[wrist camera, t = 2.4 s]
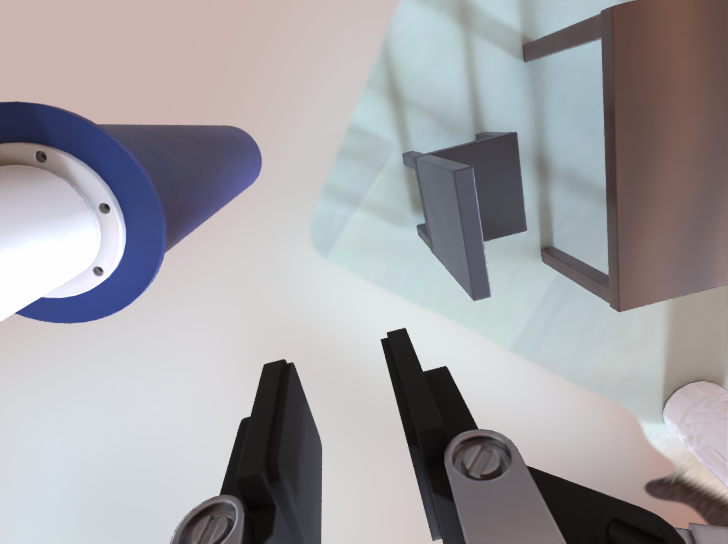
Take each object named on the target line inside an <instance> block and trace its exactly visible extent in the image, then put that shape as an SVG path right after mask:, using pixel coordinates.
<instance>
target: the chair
mask: <svg viewBox="0 0 728 544" xmlns="http://www.w3.org/2000/svg"><path fill="white" fill-rule="evenodd" d="M402 155H403V160H404V164H405V165H406V166H409V167H411V168H413V169H415V171H416V176H417V181H418V186H419V192H420V197H421V202H422V207H423V213H424V218H425V223H424V224H420V225H417V230H418V235H419V236H420V237H421V239H422V240H423V241H424V242H425V243H426V244H427V246H428V247H429V248H430V249H431V251H432V253H433V254H434V255H435V256H436V257H437V258H438V259H439V261H440V262H441V263H442V264H443V265H444V266H445V268H446V269H447V270H448V271H449V272H450V274H451V275H452V276H453V277H454V278H455V279H456V281H457V282H458V283H459V284H460V285H461V286H462V288H463V289H464V290H465V291H466V292H467V293H468V295H469V296H470V297H471V298H472V299H473V301H477V300H481V299H485V298H489V297H491V290H490V283H489V276H488V269H487V262H486V255H485V248H484V242H485V241H489V240H493V239H497V238H501V237H504V236H508V235H512V234H516V233H520V232H524V231H527V226H526V216H525V207H524V197H523V187H522V177H521V168H520V158H519V148H518V138H517V132H508V133H502V132H484V133H480V134H476V141H473V142H469V143H465V144H461V145H458V146H454V147H450V148H446V149H442V150H438V151H434V152H430V153H426V154H422V153H419V152H415V151H410V152H406V153H403V154H402Z"/></svg>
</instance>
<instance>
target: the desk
mask: <svg viewBox="0 0 728 544" xmlns="http://www.w3.org/2000/svg"><path fill="white" fill-rule="evenodd" d="M600 39H601V40H602V72H603V104H604V136H605V169H606V201H607V233H608V265H609V276H608V275H606V274H604V273H603V272H601V271H599V270H597V269H595V268H593V267H591V266H589V265H587V264H585V263H584V262H582V261H580V260H578V259H576V258H574V257H572V256H570V255H568V254H567V253H565V252H563V251H561V250H559V249H557V248H555V247H551V248H547V249H543V250H541V251H542V261H543V262H544V263H545V264H547V265H548V266H550V267H552V268H553V269H555V270H556V271H558V272H560V273H561V274H563V275H565V276H566V277H568V278H569V279H571V280H573V281H574V282H576V283H577V284H579V285H581V286H582V287H584V288H585V289H587V290H589V291H590V292H592V293H593V294H595V295H597V296H598V297H600V298H601V299H603V300H605V301H606V302H608V303H609V304H610V307H612V308H613V309H615V310H616V311H618V312H622V311H626V310H630V309H634V308H638V307H641V306H645V305H649V304H653V303H657V302H661V301H665V300H668V299H672V298H676V297H680V296H684V295H688V294H692V293H695V292H699V291H703V290H707V289H711V288H715V287H719V286H723V285H726V284H728V0H634V1H630V2H627V3H623V4H619V5H615V6H612V7H609V8H607V9H604V10H602V11H601V14H598V15H596V16H593V17H591V18H588V19H586V20H584V21H581V22H579V23H576V24H574V25H571V26H569V27H566V28H564V29H562V30H559V31H557V32H554V33H552V34H549V35H547V36H544V37H542V38H540V39H537V40H535V41H532V42H530V43H527V44H525V45H523V55H524V62H528V61H532V60H536V59H540V58H543V57H546V56H549V55H552V54H556V53H559V52H562V51H565V50H568V49H571V48H575V47H578V46H581V45H584V44H587V43H590V42H594V41H597V40H600Z"/></svg>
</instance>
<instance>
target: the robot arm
mask: <svg viewBox="0 0 728 544" xmlns="http://www.w3.org/2000/svg"><path fill="white" fill-rule="evenodd" d="M45 154H46V157H47V158H46V157H45ZM107 204H108V206H109V207H110V209H108V207H107ZM125 244H126V226H125V221H124V216H123V213H122V210H121V208H120V205H119V203H118V200H117V199H116V197H115V196H114V194H113V192H112V191H111V189H110V187H109V186H108V185H107V184H106V183H105V181H104V180H103V179H102V178H101V177H100V176H99V175H98V174H97V173H96V172H95V171H94V170H93V169H91V168H90V167H89V166H88V165H87V164H85V163H84V162H82V161H81V160H79V159H77V158H76V157H74V156H72V155H71V154H69V153H67V152H64V151H62V150H59V149H57V148H54V147H51V146H47V145H42V144H38V143H23V142H17V143H4V144H0V321H2V320H3V319H5V318H7V317H8V316H10V315H12V314H13V313H15V312H17V311H18V310H20V309H22V308H23V307H25V306H27V305H28V304H30V303H32V302H33V301H35V300H37V299H38V298H40V297H46V298H63V297H69V296H75V295H78V294H81V293H84V292H86V291H89V290H90V289H92V288H94V287H95V286H97V285H99V284H100V283H101V282H103V281H104V280H105V279H106V278H108V277H109V276H110V275H111V274H112V272H113V271H114V270H115V269H116V268H117V266H118V264H119V262H120V260H121V258H122V256H123V253H124V248H125ZM101 268H102V269H103V270H102V269H101ZM387 336H388V338H384V339H381V343H382V347H383V351H384V354H385V358H386V362H387V366H388V370H389V374H390V378H391V381H392V385H393V389H394V393H395V397H396V401H397V405H398V409H399V413H400V416H401V420H402V424H403V428H404V432H405V436H406V440H407V444H408V447H409V451H410V455H411V459H412V463H413V467H414V470H415V474H416V478H417V482H418V486H419V490H420V493H421V497H422V501H423V505H424V509H425V513H426V517H427V521H428V524H429V528H430V532H431V536H432V540H433V541H435V540H439V539H442V540H443V544H728V528H727V527H719V526H712V525H704V524H696V523H689V529H682V528H674V527H673V526H672V525H670V524H669V523H667V522H666V521H665V520H663V519H662V518H661V517H660V516H658V515H656V514H654V513H652V512H650V511H648V510H646V509H643V508H641V507H638V506H636V505H633V504H630V503H628V502H625V501H622V500H619V499H616V498H614V497H611V496H608V495H606V494H603V493H600V492H598V491H595V490H592V489H589V488H587V487H584V486H581V485H578V484H576V483H573V482H570V481H568V480H565V479H562V478H559V477H557V476H554V475H551V474H549V473H546V472H543V471H540V470H537V469H535V468H532V467H529V466H527V465H526V464H525V463H524V461H523V459H522V457H521V455H520V453H519V451H518V449H517V447H516V446H515V445H514V443H513V442H512V441H511V440H510V439H508V438H507V437H506V436H504V435H503V434H500V433H498V432H495V431H492V430H483V429H478V427H477V425H476V423H475V421H474V419H473V417H472V415H471V413H470V411H469V409H468V407H467V405H466V403H465V401H464V399H463V397H462V395H461V393H460V392H459V389H458V388H457V386H456V384H455V382H454V380H453V378H452V376H451V374H450V372H449V370H448V368H447V367H446V366H444V367H440V368H436V369H432V370H428V371H424V372H423V370H422V368H421V365H420V363H419V360H418V358H417V355H416V353H415V350H414V348H413V345H412V343H411V340H410V338H409V335H408V333H407V330H406V328H402V329H399V330H395V331H391V332H387ZM321 496H322V445H321V440H320V436H319V433H318V431H317V428H316V425H315V422H314V419H313V416H312V413H311V411H310V408H309V405H308V402H307V399H306V396H305V393H304V391H303V388H302V385H301V382H300V379H299V376H298V373H297V371H296V368H295V365H294V363H288V364H287V362H286V360H284V359H283V360H279V361H275V362H271V363H267V364H264V367H263V370H262V374H261V378H260V381H259V386H258V390H257V393H256V397H255V401H254V405H253V409H252V413H251V416H250V417H247V418H244V419H242V421H241V423H240V426H239V429H238V432H237V436H236V439H235V443H234V447H233V450H232V453H231V457H230V460H229V464H228V467H227V471H226V474H225V478H224V481H223V485H222V489H221V492H220V495H219V496H215V497H213V498H211V499H208V500H206V501H204V502H202V503H201V504H199V505H198V506H196V507H195V508H194V509H192V510H191V511H190V512H189V513H188V514H187V515H186V516H185V517H184V518H183V520H182V521H181V522H180V524H179V525H178V526H177V528H176V530H175V532H174V534H173V536H172V538H171V542H170V544H321V505H322V504H321V503H322V499H321V498H322V497H321Z"/></svg>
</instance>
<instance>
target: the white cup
mask: <svg viewBox="0 0 728 544" xmlns="http://www.w3.org/2000/svg"><path fill="white" fill-rule="evenodd" d="M663 419H664V424H665V425H666V426H667V427H668V428H669V429H670V430H671V431H672V432H673V433H674V434H675V435H676V436H677V437H678V438H679V439H680V440H681V441H682V442H683V443H684V444H685V446H686V447H687V448H688V449H689V450H690V451H691V452H692V453H693V454H694V455H695V456H696V457H697V458H698V459H699V460H700V461H701V462H702V463H703V464H704V465H705V466H706V467H707V468H708V469H709V470H710V471H711V472H712V473H713V474H714V475H715V476H716V477H717V478H718V479H719V480H720V481H721V482H722V483H723V484H724V485H725V486H726V487H728V391H727V390H725V389H723V388H722V387H720V386H718V385H717V384H714V383H710V382H707V381H699V382H694V383H689V384H687V385H686V386H684V387H682V388H680V389H679V390H677V391H676V392H675V393H674V394H673V395H672V396H671V397H670V398H669V400H668V401H667V403H666V405H665V408H664V410H663Z"/></svg>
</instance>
